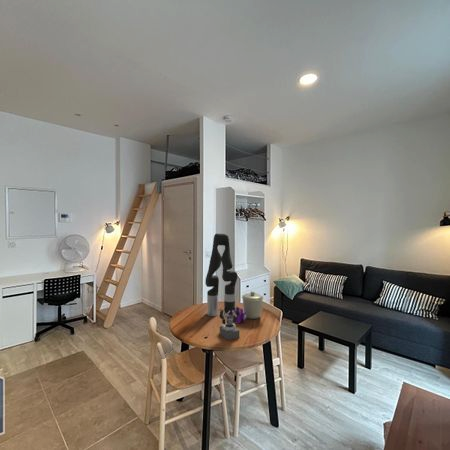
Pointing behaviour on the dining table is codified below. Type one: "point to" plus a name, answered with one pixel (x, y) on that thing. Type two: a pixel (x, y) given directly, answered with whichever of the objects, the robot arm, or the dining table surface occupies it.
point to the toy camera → (241, 316)
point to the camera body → (229, 332)
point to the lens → (229, 321)
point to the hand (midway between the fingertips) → (229, 323)
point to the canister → (252, 305)
